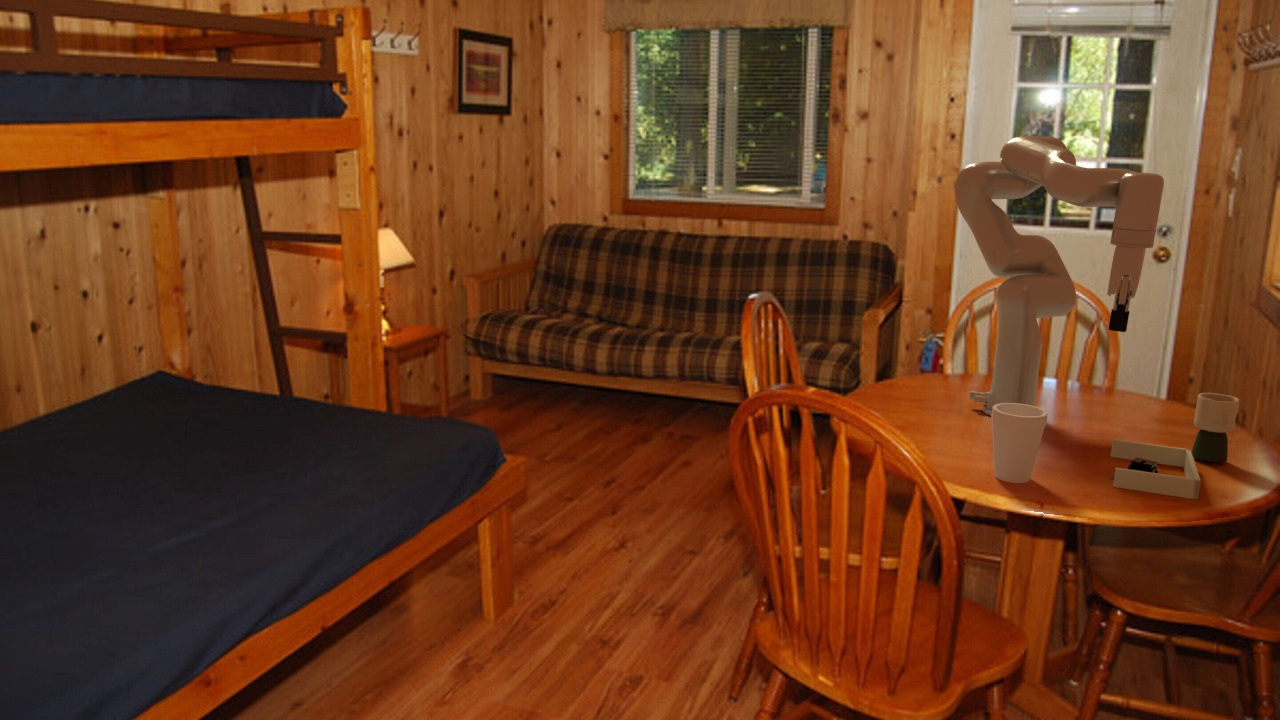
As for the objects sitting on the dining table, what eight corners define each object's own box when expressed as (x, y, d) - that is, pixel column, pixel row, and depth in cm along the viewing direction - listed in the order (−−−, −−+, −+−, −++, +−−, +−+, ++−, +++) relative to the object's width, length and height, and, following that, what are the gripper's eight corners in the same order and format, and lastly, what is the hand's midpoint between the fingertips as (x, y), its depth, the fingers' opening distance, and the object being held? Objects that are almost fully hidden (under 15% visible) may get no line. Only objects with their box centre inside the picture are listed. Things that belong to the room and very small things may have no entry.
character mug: (1242, 470, 192) (1253, 405, 189) (1204, 469, 192) (1215, 404, 189) (1212, 452, 202) (1222, 390, 199) (1176, 451, 202) (1186, 389, 199)
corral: (1113, 486, 181) (1115, 468, 180) (1110, 455, 198) (1113, 439, 197) (1197, 499, 175) (1200, 480, 175) (1187, 466, 193) (1190, 449, 192)
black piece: (1098, 480, 186) (1101, 457, 185) (1113, 472, 191) (1116, 448, 190) (1170, 498, 177) (1174, 473, 176) (1183, 488, 182) (1186, 464, 181)
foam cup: (996, 485, 180) (1004, 416, 177) (977, 468, 189) (984, 402, 186) (1047, 486, 180) (1056, 417, 177) (1026, 469, 189) (1034, 403, 186)
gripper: (1112, 231, 199) (1098, 321, 204) (1109, 240, 186) (1094, 335, 191) (1154, 235, 196) (1138, 325, 201) (1154, 244, 183) (1137, 340, 188)
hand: (1117, 330), depth 196 cm, fingers closed
